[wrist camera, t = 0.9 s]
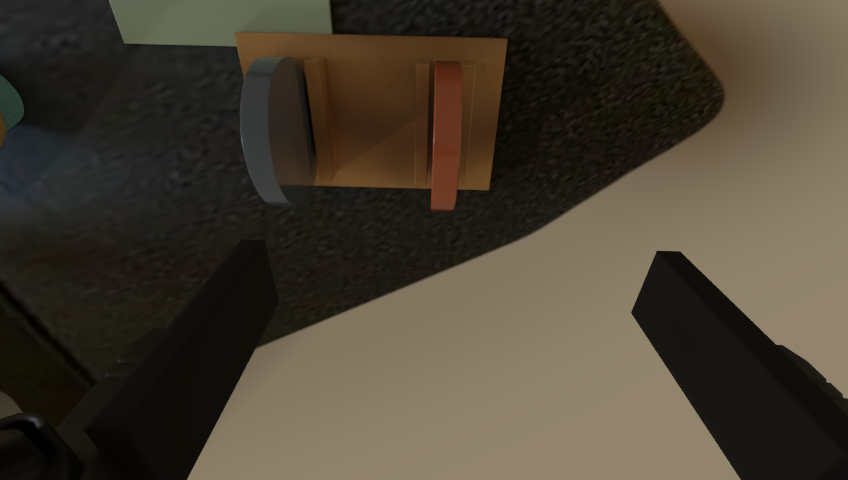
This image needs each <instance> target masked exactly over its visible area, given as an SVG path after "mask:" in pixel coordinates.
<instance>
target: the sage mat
mask: <svg viewBox="0 0 848 480" xmlns="http://www.w3.org/2000/svg"><path fill="white" fill-rule="evenodd" d="M109 2H110V5H111V8H112V11H113V13H114V16H115V19H116V22H117V24H118V27H119V30H120V33H121V36H122V38H123V41H124V43H125V44H161V45H202V46H237V44H236V39H235V35H234V32H278V33H319V34H333V29H332V19H331V8H330V0H109Z"/></svg>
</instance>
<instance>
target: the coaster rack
mask: <svg viewBox="0 0 848 480" xmlns="http://www.w3.org/2000/svg"><path fill="white" fill-rule="evenodd" d="M234 35H235V39H236V44H237V49H238V53H239V58H240V62H241V67H242V71H243V76H244V79H245V76H246V73H247V71H248V69H249V67H250V65H251V64H252V62H253V61H254V60H255V59H256V58H258V57H260V56H289V57H292V58H293V59H295V60H296V61H297V62H298V63H299V64H300V66H301V67H302V69H303V71H304V73H305V76H306V83H307V90H308V97H309V105H310V112H311V119H312V127H313V134H314V141H315V148H316V156H317V163H318V168H317V175H316V181H315V185H314V186H350V187H388V188H425V189H431V148H432V115H433V87H434V65H435V60H458V61H460V63H461V69H462V133H461V152H460V167H459V179H458V188H457V189H463V190H489V187H490V178H491V170H492V162H493V154H494V146H495V138H496V130H497V122H498V114H499V105H500V97H501V89H502V81H503V73H504V65H505V57H506V49H507V41H508V39H506V38H494V37H454V36H413V35H372V34H319V33H278V32H234Z"/></svg>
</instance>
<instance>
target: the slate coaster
mask: <svg viewBox="0 0 848 480" xmlns="http://www.w3.org/2000/svg"><path fill="white" fill-rule="evenodd" d="M240 129H241V139H242V146H243V152H244V156H245V161H246V165H247V168H248V171H249V174H250V177H251V180H252V182H253V184H254V186H255V188H256V190H257V192H258V193H259V195H260V196H261V197H262V199H263V200H264V201H265V202H266V203H268V204H269V205H271V206H274V207H302V206H304V205H305V204H306V203H307V201H308V200H309V198H310V196H311V194H312V191H313V188H314V185H315V181H316V175H317V168H318V163H317V156H316V148H315V141H314V134H313V127H312V119H311V112H310V105H309V97H308V90H307V83H306V76H305V73H304V71H303V69H302V67H301V66H300V64H299V63H298V62H297V61H296V60H295V59H293V58H292V57H289V56H260V57H258V58H256V59H255V60H254V61H253V62H252V64H251V65H250V67H249V69H248V71H247V73H246V76H245V79H244V83H243V88H242V93H241V102H240Z"/></svg>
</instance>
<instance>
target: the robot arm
mask: <svg viewBox="0 0 848 480" xmlns="http://www.w3.org/2000/svg"><path fill="white" fill-rule="evenodd" d="M278 305H279V299H278V295H277V291H276V287H275V283H274V278H273V274H272V270H271V266H270V262H269V258H268V254H267V249H266V245H265V241H264V240H241V241H240V242H239V243H238V244H237V246H236V247H235V248H234V249H233V250H232V252H231V253H230V254H229V255H228V256H227V258H226V259H225V260H224V261H223V262H222V263H221V265H220V266H219V267H218V268H217V269H216V271H215V272H214V273H213V274H212V275H211V277H210V278H209V279H208V280H207V281H206V283H205V284H204V285H203V286H202V287H201V289H200V290H199V291H198V292H197V293H196V295H195V296H194V297H193V298H192V299H191V301H190V302H189V303H188V304H187V305H186V307H185V308H184V309H183V310H182V311H181V313H180V314H179V315H178V316H177V317H176V319H175V320H174V321H173V322H172V323H171V324H170V326H169V327H168V328H167V329H164V328H154V329H153V330H151V331H150V332H148V333H147V334H145V335H144V336H142V337H141V338H140V339H138V340H137V341H135V342H134V343H133V344H132V345H131V346H130V347H129V348H128V349H127V350H126V352H125V353H124V354H123V355H122V356H121V357H120V358H119V359H118V363H115V364H114V365H113V366H112V367H111V368H110V369H109V370H108V372H107V373H106V375H105V377H104V378H101V379H100V380H99V382H98V383H97V384H96V385H95V386H94V387H93V388H92V389H91V390H90V391H89V393H88V394H87V395H86V396H85V397H84V398H83V399H82V400H81V401H80V403H79V404H78V405H77V406H76V407H75V408H74V409H73V410H72V411H71V413H70V414H69V415H68V416H67V417H66V418H65V419H64V420H63V421H62V423H61V424H60V425H59V426H58V427H57V428H56V429H54V428H53V427H52V426H51V425H50V424H49V423H48V421H47V420H46V419H45V418H44V417H43V416H41V415H39V414H36V413H34V412H29V413H17V414H14V415H11V416H8V417H5V418H2V419H0V480H187V478H188V476H189V474H190V472H191V470H192V469H193V467H194V465H195V463H196V461H197V459H198V457H199V455H200V453H201V451H202V449H203V448H204V446H205V444H206V442H207V440H208V438H209V436H210V434H211V432H212V430H213V428H214V427H215V425H216V423H217V421H218V419H219V417H220V415H221V413H222V411H223V409H224V408H225V405H226V403H227V402H228V400H229V398H230V396H231V394H232V392H233V390H234V388H235V386H236V384H237V383H238V381H239V379H240V377H241V375H242V373H243V371H244V369H245V367H246V365H247V363H248V362H249V360H250V358H251V356H252V354H253V352H254V350H255V348H256V347H257V345H258V343H259V341H260V339H261V337H262V335H263V333H264V331H265V329H266V327H267V326H268V324H269V322H270V320H271V318H272V316H273V314H274V312H275V310H276V308H277V307H278ZM631 313H632V315H633V316H634V318H635V319H636V321H637V323H638V324H639V326H640V327H641V329H642V330H643V331H644V333H645V335H646V336H647V338H648V339H649V341H650V342H651V344H652V345H653V347H654V348H655V350H656V351H657V353H658V354H659V356H660V357H661V359H662V360H663V362H664V363H665V365H666V367H667V368H668V369H669V371H670V372H671V374H672V376H673V377H674V379H675V380H676V382H677V383H678V385H679V386H680V388H681V389H682V391H683V392H684V394H685V395H686V397H687V398H688V400H689V401H690V403H691V405H692V406H693V408H694V409H695V411H696V412H697V414H698V415H699V417H700V418H701V420H702V421H703V423H704V424H705V426H706V427H707V429H708V430H709V432H710V433H711V435H712V436H713V438H714V439H715V441H716V442H717V444H718V445H719V447H720V449H721V450H722V452H723V453H724V455H725V456H726V458H727V459H728V461H729V462H730V464H731V465H732V467H733V468H734V470H735V471H736V473H737V474H738V476H739V477H740V479H741V480H848V399H845V398H843V397H842V393H841V392H839V391H838V390H837V389H836V388H835V387H834V386H833V385H832V384H831V383H827V382H826V379H825V378H824V377H823V376H822V375H821V374H820V373H819V372H818V371H817V370H816V369H815V368H814V367H813V366H812V365H811V364H810V363H808V362H807V361H806V360H804V359H803V358H801V357H800V356H798V355H797V354H795V353H793V352H792V351H791V350H789V349H787V348H786V347H784V346H783V345H776V344H775V343H774V342H773V341H772V340H771V339H770V338H769V337H768V336H766V335H765V334H764V333H763V332H762V331H761V330H760V329H759V328H758V327H757V326H756V325H755V324H754V323H753V322H752V321H751V320H750V319H749V318H748V317H747V316H746V315H745V314H744V313H743V312H742V311H741V310H740V309H739V308H738V307H737V306H736V305H735V304H734V303H733V302H731V301H730V300H729V299H728V298H727V297H726V296H725V295H724V294H723V293H722V292H721V291H720V290H719V289H718V288H717V287H716V286H715V285H714V284H713V283H712V282H711V281H710V280H709V279H708V278H707V277H706V276H705V275H704V274H703V273H702V272H701V271H700V270H698V269H697V268H696V267H695V266H694V265H693V264H692V263H691V262H690V261H689V260H688V259H687V258H686V257H685V256H684V255H683V254H682V253H681V252H675V251H657V252H656V255H655V257H654V259H653V262H652V264H651V266H650V269H649V271H648V274H647V276H646V278H645V281H644V283H643V286H642V288H641V291H640V293H639V295H638V298H637V300H636V302H635V305H634V307H633V310H632V312H631Z"/></svg>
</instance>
